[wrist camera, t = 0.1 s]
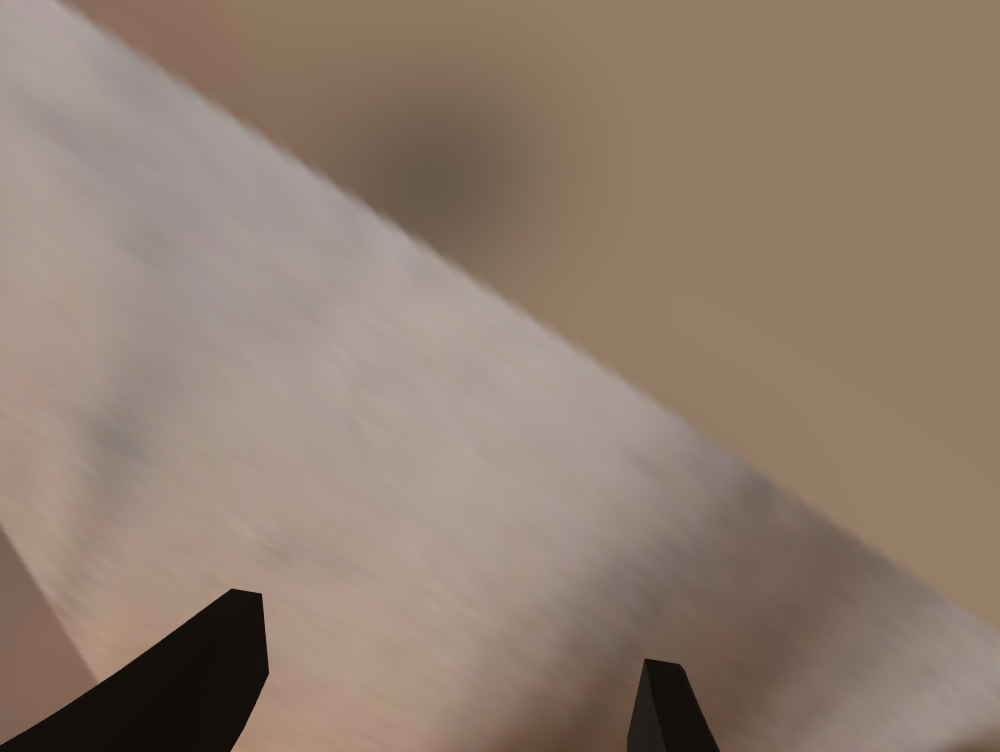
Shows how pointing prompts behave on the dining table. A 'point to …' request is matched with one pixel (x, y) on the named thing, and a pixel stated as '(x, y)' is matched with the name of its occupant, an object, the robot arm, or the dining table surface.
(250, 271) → the dining table surface
